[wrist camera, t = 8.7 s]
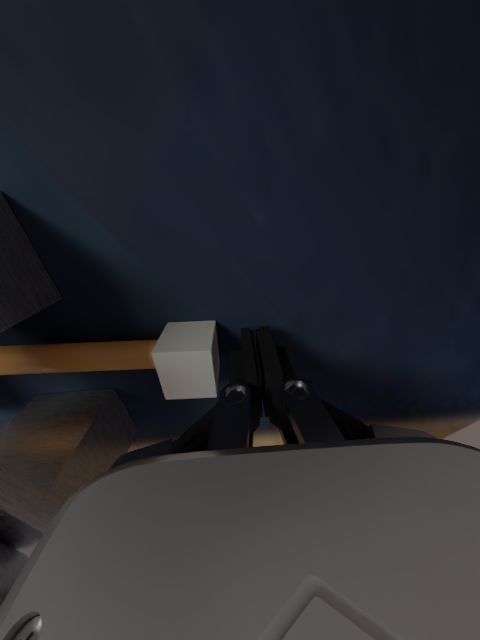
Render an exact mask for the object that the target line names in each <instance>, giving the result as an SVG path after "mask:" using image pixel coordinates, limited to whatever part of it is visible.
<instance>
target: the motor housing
mask: <svg viewBox="0 0 480 640" xmlns="http://www.w3.org/2000/svg"><path fill="white" fill-rule="evenodd" d="M61 299H63V298H62V296H61V295H60V293H59V291H58V289H57V288H56V286H55V284H54V282H53V281H52V279H51V277H50V276H49V274H48V272H47V270H46V269H45V267H44V265H43V263H42V262H41V260H40V258H39V256H38V255H37V253H36V251H35V249H34V248H33V246H32V244H31V242H30V241H29V239H28V237H27V235H26V234H25V232H24V230H23V229H22V227H21V225H20V223H19V222H18V220H17V218H16V216H15V215H14V213H13V211H12V209H11V208H10V206H9V204H8V202H7V201H6V199H5V197H4V195H3V194H2V192H1V191H0V333H1V332H3V331H4V330H6V329H8V328H10V327H12V326H14V325H15V324H17V323H19V322H21V321H23V320H24V319H26V318H28V317H30V316H32V315H34V314H35V313H37V312H39V311H41V310H43V309H44V308H46V307H48V306H50V305H52V304H54V303H55V302H57V301H59V300H61ZM136 431H137V427H136V425H135V423H134V422H133V420H132V418H131V417H130V415H129V413H128V411H127V410H126V408H125V406H124V404H123V403H122V401H121V399H120V397H119V396H118V394H117V392H116V390H115V389H114V388H112V389H100V390H89V391H77V392H66V393H54V394H43V395H37V396H36V397H34V398H33V399H32V400H31V401H30V402H29V403H28V404H27V405H26V406H25V407H24V408H23V409H22V410H21V411H20V412H19V413H18V414H17V415H16V416H15V417H14V418H13V419H12V420H11V421H10V422H9V423H8V424H7V425H6V426H5V427H4V428H3V429H2V430H1V431H0V606H1V605H2V603H3V601H4V600H5V598H6V596H7V594H8V593H9V591H10V589H11V588H12V586H13V584H14V582H15V581H16V579H17V577H18V576H19V574H20V572H21V570H22V569H23V567H24V565H25V564H26V562H27V560H28V559H29V557H30V555H31V554H32V552H33V550H34V549H35V547H36V546H37V544H38V542H39V541H40V539H41V537H42V536H43V534H44V533H45V531H46V530H47V528H48V527H49V525H50V524H51V522H52V521H53V519H54V518H55V516H56V515H57V513H58V512H59V511H60V509H61V508H62V506H63V505H64V504H65V503H66V502H67V500H68V499H69V498H70V497H71V496H72V495H73V494H74V493H75V492H76V491H77V490H78V489H79V488H80V487H81V486H83V485H84V484H85V483H87V482H88V481H90V480H91V479H93V478H94V477H96V476H98V475H100V474H101V473H103V472H105V471H107V470H109V469H110V467H111V466H112V464H113V463H114V462H115V460H117V459H118V458H119V457H120V456H121V455H124V454H126V453H128V450H129V448H130V446H131V443H132V441H133V438H134V436H135V434H136Z"/></svg>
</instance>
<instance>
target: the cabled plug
mask: <svg viewBox="0 0 480 640" xmlns="http://www.w3.org/2000/svg"><path fill="white" fill-rule="evenodd" d="M219 363H220V362H219V352H218V342H217V332H216V322H215V321H192V322H168V323H167V325H166V326H165V328H164V330H163V332H162V334H161V336H160V337H159V339H158V340H136V341H111V342H87V343H62V344H37V345H12V346H0V375H16V374H39V373H62V372H86V371H109V370H132V369H155V368H156V371H157V374H158V377H159V380H160V383H161V386H162V390H163V393H164V396H165V399H166V400H169V399H190V398H212V397H217V388H218V376H219Z"/></svg>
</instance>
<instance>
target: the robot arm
mask: <svg viewBox="0 0 480 640" xmlns="http://www.w3.org/2000/svg"><path fill="white" fill-rule="evenodd" d="M241 336H242V349H241V350H230V375H229V384H228V385H226V386H225V387H224V388H223V389H222V390H221V393H220V396H219V400H218V403H217V404H216V405H215V406H214V407H213V408H212V409H210V410H209V411H208V412H207V413H206V414H205V415H204V416H203V417H201V418H200V419H199V420H198V421H197V422H196V423H195V424H194V425H192V426H191V427H190V428H189V429H188V430H187V431H186V432H184V433H183V434H182V435H181V437H180V438H179V439H178V440H175V441H172V439H170V440H167V441H163V442H160V443H157V444H154V445H150V446H147V447H144V448H141V449H137V450H134V451H131V452H128V453H126V454H124V455H121V456H120V457H119V458H118V459H117V460H115V462H114V463H113V464H112V466H111V467H110V469H109V470H107V471H105V472H103V473H101V474H100V475H98V476H96V477H94V478H93V479H91V480H90V481H88V482H87V483H85V484H84V485H83V486H81V487H80V488H79V489H78V490H77V491H76V492H75V493H74V494H73V495H72V496H71V497H70V498H69V499H68V500H67V502H66V503H65V504H64V505H63V506H62V508H61V509H60V511H59V512H58V513H57V515H56V516H55V518H54V519H53V521H52V522H51V524H50V525H49V527H48V528H47V530H46V531H45V533H44V534H43V536H42V537H41V539H40V541H39V542H38V544H37V546H36V547H35V549H34V550H33V552H32V554H31V555H30V557H29V559H28V560H27V562H26V564H25V565H24V567H23V569H22V570H21V572H20V574H19V576H18V577H17V579H16V581H15V582H14V584H13V586H12V588H11V589H10V591H9V593H8V594H7V596H6V598H5V600H4V601H3V603H2V605H1V606H0V640H480V449H477V448H475V447H472V446H468V445H465V444H461V443H457V442H453V441H448V440H443V439H436V438H435V437H434V436H432V435H430V434H428V433H426V432H423V431H419V430H413V429H405V428H398V427H391V426H384V425H376V424H370V426H366V425H365V424H363V423H362V422H361V421H359V420H357V419H355V418H354V417H352V416H350V415H348V414H346V413H345V412H343V411H341V410H339V409H337V408H336V407H334V406H332V405H330V404H328V403H326V402H325V401H323V400H321V399H319V398H318V396H317V394H316V393H315V391H314V390H313V388H312V387H311V385H310V384H309V383H308V382H306V381H305V380H303V379H300V378H296V377H295V375H294V372H293V369H292V367H291V364H290V361H289V358H288V356H287V353H286V350H285V348H284V346H279V347H275V346H274V342H273V339H272V336H271V333H270V329H269V326H263V327H259V329H256V341H255V336H254V330H250V328H241ZM256 342H257V347H256ZM262 398H263V404H264V411H265V416H266V417H268V416H269V418H270V423H273V424H274V425H275V426H276V427H278V428H279V432H280V435H281V438H282V441H283V444H284V445H274V446H261V447H253V438H254V433H253V432H254V431H255V430H256V429H257V427H258V426H259V425H260V417H262Z"/></svg>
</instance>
